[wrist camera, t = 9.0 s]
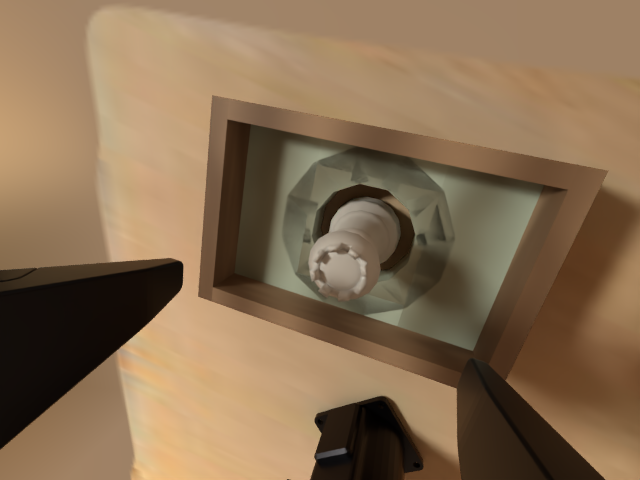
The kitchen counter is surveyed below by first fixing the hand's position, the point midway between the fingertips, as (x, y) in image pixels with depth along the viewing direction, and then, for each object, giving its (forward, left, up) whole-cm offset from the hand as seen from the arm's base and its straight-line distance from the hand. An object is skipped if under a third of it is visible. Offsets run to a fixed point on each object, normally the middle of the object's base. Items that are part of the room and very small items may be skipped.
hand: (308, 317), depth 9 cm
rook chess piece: (0, 0, -12) cm, 12 cm away
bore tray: (0, 0, -12) cm, 12 cm away
